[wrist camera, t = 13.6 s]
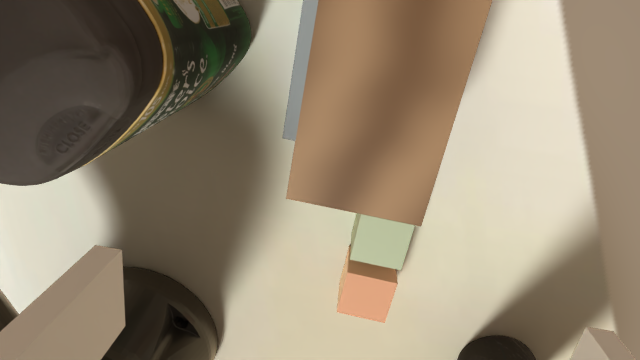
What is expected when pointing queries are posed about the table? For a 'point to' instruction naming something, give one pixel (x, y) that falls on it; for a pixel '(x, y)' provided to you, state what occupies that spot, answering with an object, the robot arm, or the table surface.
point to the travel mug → (496, 349)
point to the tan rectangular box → (382, 102)
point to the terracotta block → (366, 289)
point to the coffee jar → (103, 74)
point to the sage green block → (380, 241)
